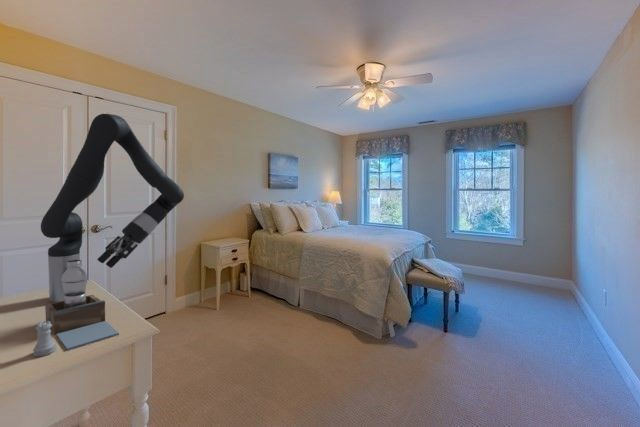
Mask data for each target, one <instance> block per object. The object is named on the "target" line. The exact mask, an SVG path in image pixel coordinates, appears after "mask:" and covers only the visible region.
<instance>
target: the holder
mask: <svg viewBox="0 0 640 427" xmlns="http://www.w3.org/2000/svg"><path fill="white" fill-rule="evenodd" d="M86 303H87V304H84V305H80V306H75V307H71V308H66V309H64V301H59V302H50V303H45V305H44V306H45V307H44V308H45V321H46V323H47V321H50V323H51V324H52V326H51V328H50V330H51V332H52V333H53V335H54V336H57V334H58V333H62V332H66V331H69V330H73V329H77V328H81V327H84V326H88V325H92V324H96V323H99V322H103V321H106V301H105V300H104V299H103V300H100V298H98V297H97V296H95V295H94V294H89V295H86Z"/></svg>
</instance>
